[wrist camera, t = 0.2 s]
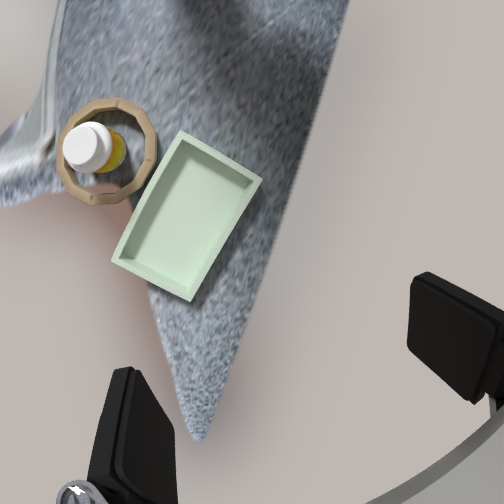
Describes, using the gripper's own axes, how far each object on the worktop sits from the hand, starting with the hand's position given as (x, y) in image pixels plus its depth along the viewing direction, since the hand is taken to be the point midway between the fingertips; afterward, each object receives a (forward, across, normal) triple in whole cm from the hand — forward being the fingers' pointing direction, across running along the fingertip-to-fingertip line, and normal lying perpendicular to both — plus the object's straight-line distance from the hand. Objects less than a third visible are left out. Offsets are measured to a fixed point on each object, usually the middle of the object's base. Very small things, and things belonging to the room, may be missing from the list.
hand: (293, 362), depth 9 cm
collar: (+31, +12, -12) cm, 35 cm away
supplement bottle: (+31, +12, -12) cm, 35 cm away
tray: (+31, +4, -1) cm, 31 cm away
